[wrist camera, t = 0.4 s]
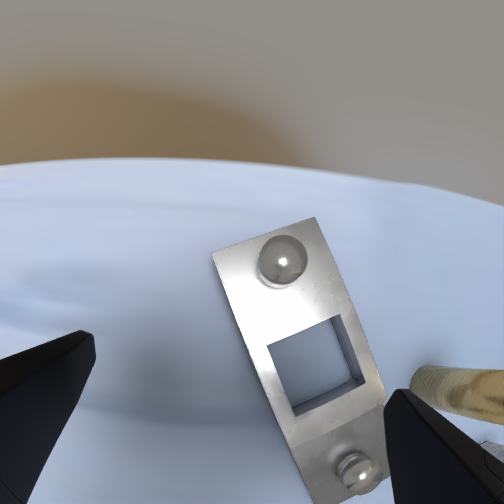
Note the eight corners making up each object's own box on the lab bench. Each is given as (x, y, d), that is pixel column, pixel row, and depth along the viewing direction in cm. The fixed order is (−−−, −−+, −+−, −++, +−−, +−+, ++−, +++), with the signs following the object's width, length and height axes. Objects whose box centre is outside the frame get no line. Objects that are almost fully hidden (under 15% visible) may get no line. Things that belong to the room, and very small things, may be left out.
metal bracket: (396, 463, 19) (424, 482, 15) (315, 505, 18) (331, 533, 14) (307, 227, 24) (323, 203, 20) (213, 261, 23) (209, 242, 19)
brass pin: (443, 390, 21) (542, 403, 10) (415, 411, 21) (513, 439, 9) (434, 358, 22) (537, 358, 11) (405, 378, 22) (509, 393, 10)
